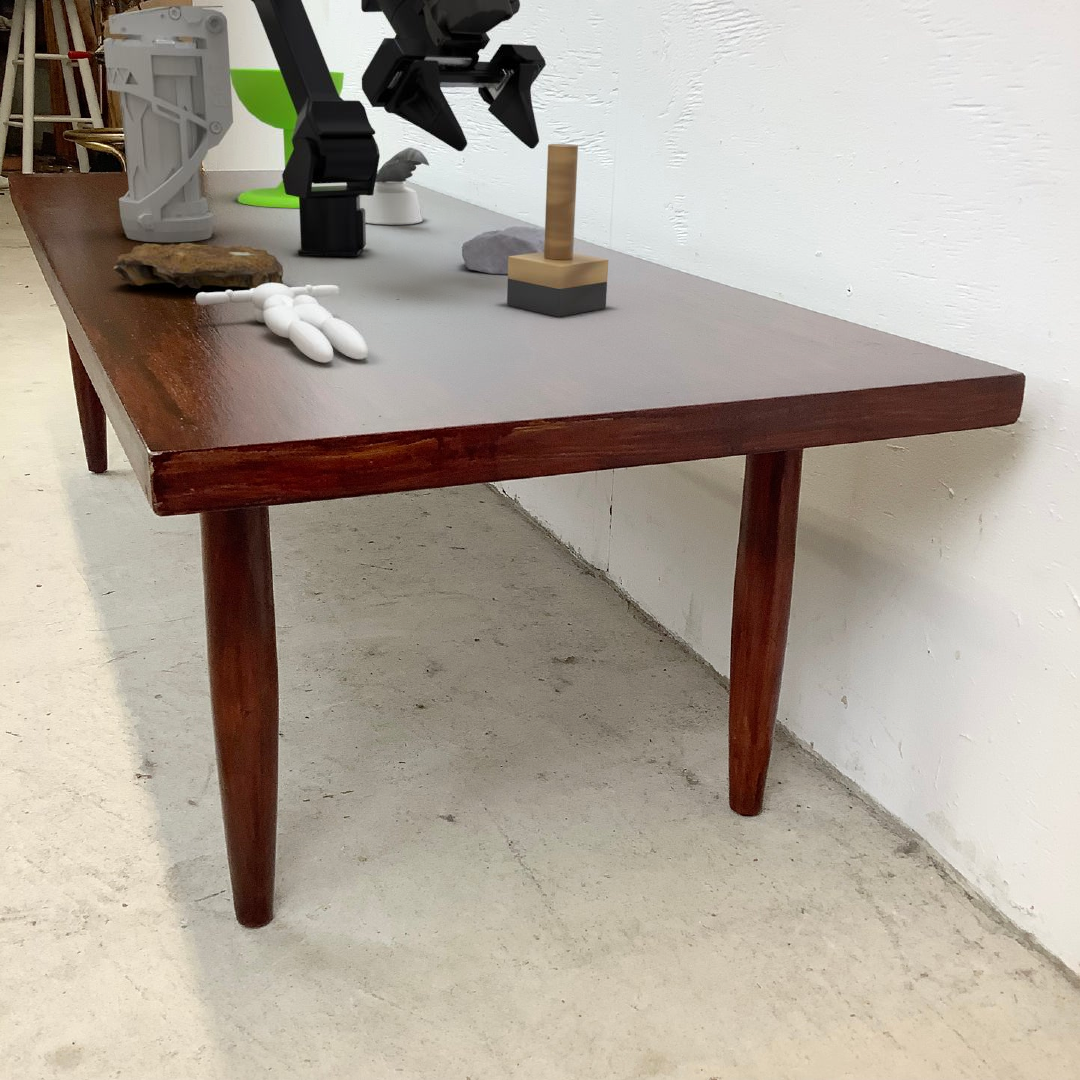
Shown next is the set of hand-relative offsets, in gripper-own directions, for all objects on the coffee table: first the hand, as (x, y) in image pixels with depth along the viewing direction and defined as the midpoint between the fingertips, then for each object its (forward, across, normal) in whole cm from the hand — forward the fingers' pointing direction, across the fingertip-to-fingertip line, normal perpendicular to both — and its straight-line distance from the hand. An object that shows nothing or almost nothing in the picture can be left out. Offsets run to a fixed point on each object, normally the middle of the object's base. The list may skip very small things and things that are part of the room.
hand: (500, 146), depth 105 cm
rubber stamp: (+15, 0, +4) cm, 15 cm away
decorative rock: (-4, -20, +23) cm, 31 cm away
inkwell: (-20, +24, +39) cm, 50 cm away
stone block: (+2, +13, +17) cm, 21 cm away
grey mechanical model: (-25, -5, +44) cm, 50 cm away
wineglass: (-40, +27, +59) cm, 76 cm away
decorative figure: (+12, -26, +7) cm, 29 cm away
